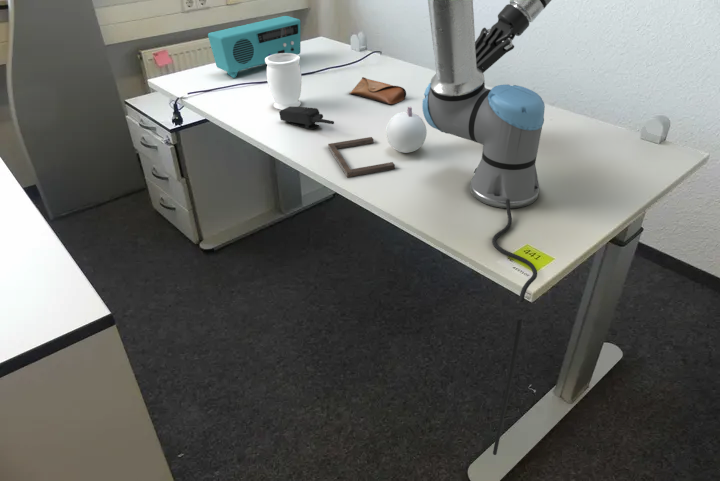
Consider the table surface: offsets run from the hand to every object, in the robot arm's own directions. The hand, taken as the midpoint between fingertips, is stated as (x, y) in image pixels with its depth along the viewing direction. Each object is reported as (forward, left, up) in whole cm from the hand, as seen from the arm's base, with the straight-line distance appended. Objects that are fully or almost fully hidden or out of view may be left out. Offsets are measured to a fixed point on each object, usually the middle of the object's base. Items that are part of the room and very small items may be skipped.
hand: (452, 89), depth 139 cm
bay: (0, +24, -15) cm, 29 cm away
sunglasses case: (+40, +6, -15) cm, 43 cm away
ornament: (0, +12, -15) cm, 20 cm away
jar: (+43, +35, -15) cm, 58 cm away
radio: (+84, +37, -15) cm, 93 cm away
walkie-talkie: (+24, +32, -15) cm, 43 cm away
